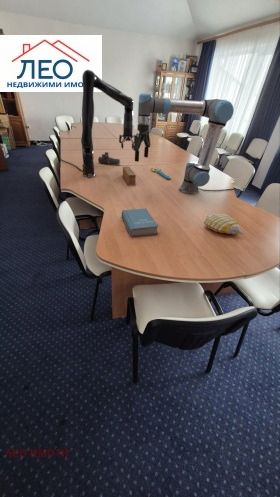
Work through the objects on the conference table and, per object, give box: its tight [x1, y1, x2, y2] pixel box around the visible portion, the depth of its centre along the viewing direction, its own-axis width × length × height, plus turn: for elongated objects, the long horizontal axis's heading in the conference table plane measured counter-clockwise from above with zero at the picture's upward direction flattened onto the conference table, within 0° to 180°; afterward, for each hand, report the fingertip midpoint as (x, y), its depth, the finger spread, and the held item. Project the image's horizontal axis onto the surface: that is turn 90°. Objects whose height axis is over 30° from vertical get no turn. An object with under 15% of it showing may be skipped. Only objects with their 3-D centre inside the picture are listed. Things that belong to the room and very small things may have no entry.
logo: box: [150, 167, 172, 180], centre depth 216 cm, size 34×10×1 cm, turn 16°
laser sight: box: [97, 151, 121, 166], centre depth 229 cm, size 10×22×10 cm, turn 78°
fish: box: [203, 213, 245, 235], centre depth 133 cm, size 25×8×20 cm
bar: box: [122, 166, 137, 186], centre depth 194 cm, size 23×6×9 cm, turn 16°
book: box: [121, 207, 159, 237], centre depth 133 cm, size 23×16×5 cm
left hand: (127, 148), depth 187 cm, fingers open, 8 cm apart
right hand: (141, 159), depth 150 cm, fingers open, 13 cm apart
